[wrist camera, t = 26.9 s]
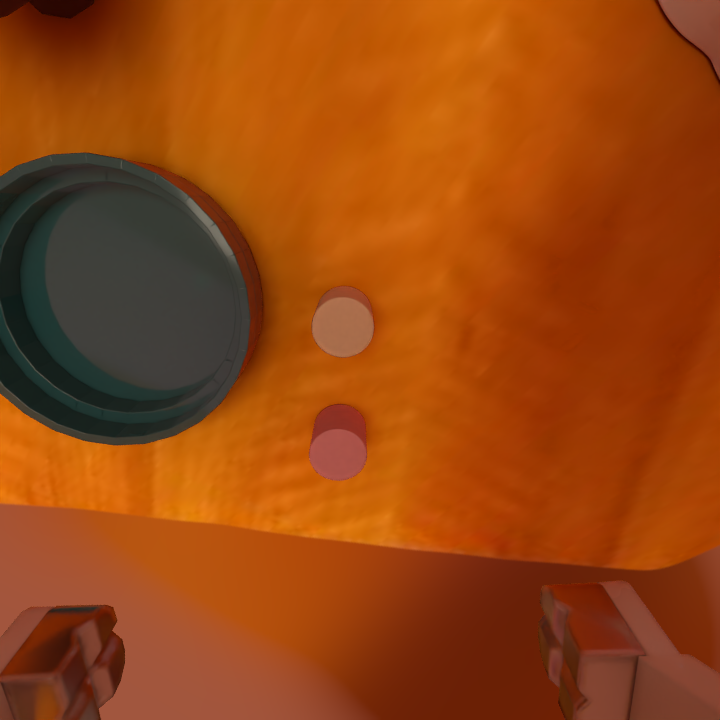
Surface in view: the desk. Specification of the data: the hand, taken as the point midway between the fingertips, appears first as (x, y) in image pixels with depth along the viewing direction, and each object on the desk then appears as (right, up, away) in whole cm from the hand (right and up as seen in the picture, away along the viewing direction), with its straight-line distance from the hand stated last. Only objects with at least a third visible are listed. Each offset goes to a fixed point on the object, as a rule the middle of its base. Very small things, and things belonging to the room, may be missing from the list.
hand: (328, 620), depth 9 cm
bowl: (-15, +9, +26) cm, 32 cm away
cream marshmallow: (-1, +8, +27) cm, 28 cm away
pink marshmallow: (-1, 0, +29) cm, 29 cm away
